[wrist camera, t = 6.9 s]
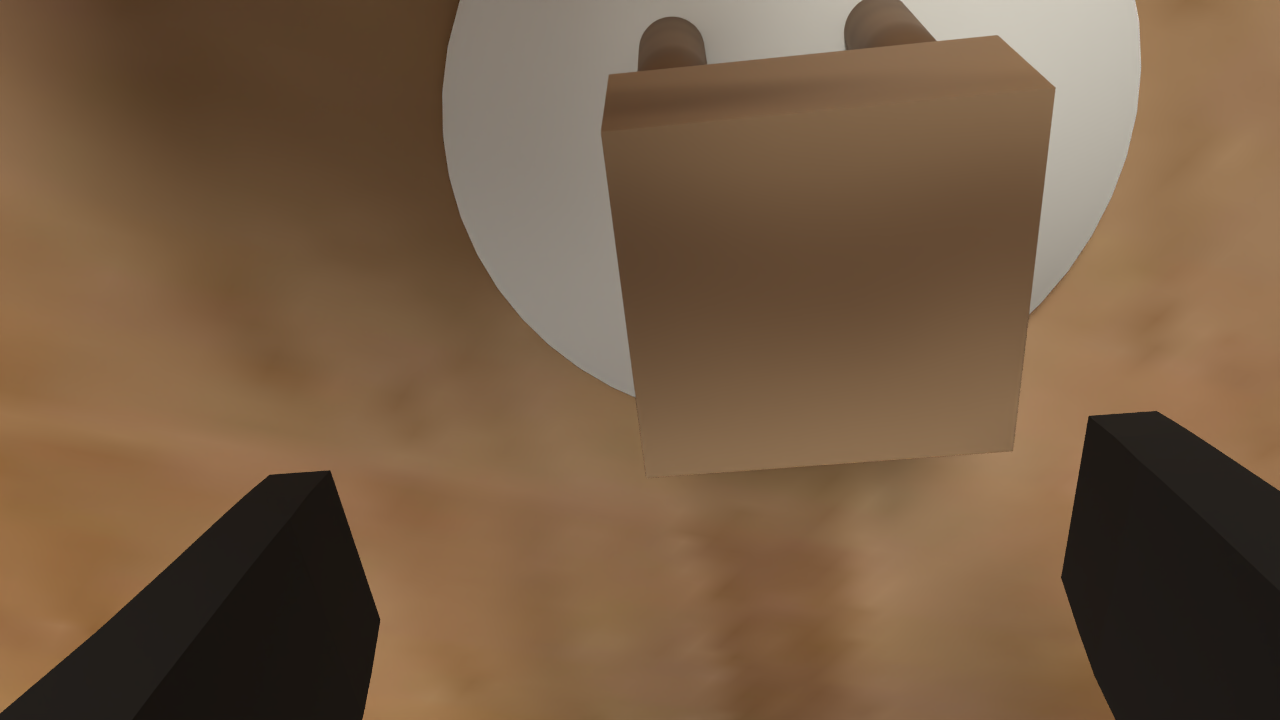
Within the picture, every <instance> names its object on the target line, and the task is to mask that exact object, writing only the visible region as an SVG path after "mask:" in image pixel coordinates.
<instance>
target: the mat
mask: <svg viewBox="0 0 1280 720" xmlns="http://www.w3.org/2000/svg"><path fill="white" fill-rule="evenodd" d="M861 1H862V0H460V2H459V5H458V9H457V13H456V17H455V21H454V25H453V28H452V32H451V36H450V40H449V44H448V49H447V57H446V65H445V74H444V82H443V90H442V103H443V139H444V146H445V152H446V159H447V166H448V172H449V178H450V182H451V185H452V189H453V192H454V196H455V199H456V202H457V206H458V209H459V213H460V216H461V219H462V221H463V223H464V226H465V228H466V230H467V233H468V235H469V237H470V239H471V242H472V244H473V246H474V248H475V251H476V253H477V255H478V257H479V258H480V260H481V262H482V263H483V265H484V267H485V268H486V270H487V272H488V273H489V275H490V276H491V278H492V280H493V281H494V283H495V285H496V286H497V288H498V289H499V291H500V292H501V293H502V294H503V296H504V297H505V298H506V299H507V301H508V302H509V303H510V304H511V306H512V307H513V308H514V309H515V311H516V312H517V313H518V314H519V316H520V317H521V318H522V319H523V320H524V321H525V322H526V323H527V324H528V325H529V326H530V327H531V328H532V329H533V330H534V331H535V332H536V333H537V334H538V335H539V336H540V337H541V338H542V339H543V340H544V341H545V342H546V343H547V344H548V345H550V346H551V347H552V348H554V349H555V350H556V351H558V352H559V353H560V354H561V355H563V356H564V357H565V358H567V359H568V360H569V361H571V362H572V363H573V364H575V365H576V366H577V367H579V368H580V369H582V370H584V371H585V372H587V373H589V374H590V375H592V376H594V377H595V378H597V379H599V380H601V381H602V382H604V383H606V384H607V385H609V386H611V387H613V388H615V389H617V390H620V391H622V392H624V393H627V394H629V395H631V396H633V397H635V390H634V382H633V375H632V367H631V359H630V352H629V344H628V337H627V329H626V321H625V314H624V306H623V298H622V291H621V283H620V276H619V268H618V260H617V253H616V245H615V237H614V230H613V222H612V215H611V207H610V199H609V192H608V184H607V176H606V169H605V161H604V154H603V146H602V138H601V126H602V119H603V112H604V105H605V98H606V91H607V84H608V77H609V74H618V73H628V72H637V70H638V53H639V43H640V40H641V37H642V35H643V33H644V31H645V30H646V29H647V28H648V26H649V25H651V24H652V23H653V22H655V21H656V20H658V19H661V18H664V17H672V16H673V17H680V18H683V19H686V20H688V21H689V22H691V23H692V24H693V25H695V26H696V28H697V29H698V30H699V32H700V33H701V35H702V38H703V41H704V46H705V53H706V60H707V64H717V63H727V62H737V61H747V60H756V59H766V58H776V57H786V56H796V55H806V54H816V53H825V52H835V51H845V50H849V49H848V47H847V45H846V43H845V38H844V27H845V23H846V20H847V17H848V15H849V14H850V12H851V11H852V9H853V8H854V7H855V6H856V5H857V4H858V3H859V2H861ZM900 1H901V2H903V4H904V5H905V6H906V7H907V8H908V9H909V10H910V11H911V13H912V14H913V15H914V16H915V17H916V18H917V19H918V20H919V22H920V23H921V24H922V25H923V26H924V27H925V28H926V29H927V31H928V32H929V33H930V34H931V35H932V36H933V37H934V38H935V40H936V41H944V40H954V39H963V38H973V37H983V36H993V35H998V36H999V37H1000V38H1002V39H1003V40H1004V41H1005V42H1006V43H1007V44H1008V45H1009V46H1010V47H1011V48H1013V49H1014V50H1015V51H1016V52H1017V53H1018V54H1019V55H1020V56H1021V57H1022V58H1024V59H1025V60H1026V61H1027V62H1028V63H1029V64H1030V65H1031V66H1032V67H1034V68H1035V69H1036V70H1037V71H1038V72H1039V73H1040V74H1041V75H1042V76H1043V77H1045V78H1046V79H1047V80H1048V81H1049V82H1050V83H1051V84H1052V85H1053V86H1054V87H1056V89H1055V97H1054V106H1053V115H1052V123H1051V132H1050V140H1049V149H1048V157H1047V166H1046V174H1045V183H1044V191H1043V200H1042V208H1041V217H1040V226H1039V234H1038V243H1037V251H1036V260H1035V268H1034V277H1033V285H1032V294H1031V302H1030V311H1029V314H1030V313H1031V312H1032V311H1033V310H1034V309H1035V308H1036V307H1037V306H1039V305H1040V304H1041V302H1042V301H1043V300H1044V299H1045V298H1046V297H1047V295H1048V294H1049V293H1050V292H1051V291H1052V289H1053V288H1054V287H1055V286H1056V285H1057V284H1058V282H1059V281H1060V280H1061V279H1062V278H1063V277H1064V275H1065V274H1066V273H1067V272H1068V270H1069V269H1070V267H1071V266H1072V264H1073V263H1074V261H1075V260H1076V258H1077V257H1078V256H1079V254H1080V253H1081V251H1082V250H1083V248H1084V247H1085V245H1086V244H1087V242H1088V241H1089V239H1090V238H1091V236H1092V234H1093V232H1094V230H1095V228H1096V226H1097V225H1098V223H1099V221H1100V219H1101V217H1102V215H1103V213H1104V211H1105V209H1106V207H1107V205H1108V203H1109V201H1110V199H1111V197H1112V195H1113V192H1114V189H1115V186H1116V184H1117V181H1118V178H1119V176H1120V173H1121V170H1122V168H1123V165H1124V162H1125V159H1126V157H1127V153H1128V148H1129V144H1130V140H1131V135H1132V131H1133V127H1134V122H1135V118H1136V114H1137V105H1138V95H1139V84H1140V74H1141V53H1140V31H1139V18H1138V13H1137V8H1136V3H1135V0H900Z"/></svg>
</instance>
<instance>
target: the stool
mask: <svg viewBox="0 0 1280 720" xmlns="http://www.w3.org/2000/svg"><path fill="white" fill-rule="evenodd" d="M844 38H845V43H846V45H847V47H848V49H849V50H845V51H835V52H825V53H816V54H806V55H796V56H786V57H776V58H766V59H756V60H747V61H737V62H727V63H717V64H707V60H706V53H705V46H704V41H703V38H702V35H701V33H700V32H699V30H698V29H697V28H696V26H695V25H693V24H692V23H691V22H689V21H688V20H686V19H683V18H680V17H673V16H672V17H664V18H661V19H658V20H656V21H655V22H653V23H652V24H651V25H649V26H648V28H647V29H646V30H645V31H644V33H643V35H642V37H641V40H640V43H639V53H638V70H637V72H628V73H618V74H609V77H608V84H607V91H606V98H605V105H604V112H603V119H602V126H601V138H602V146H603V154H604V161H605V169H606V176H607V184H608V192H609V199H610V207H611V215H612V222H613V230H614V237H615V245H616V253H617V260H618V268H619V276H620V283H621V291H622V298H623V306H624V314H625V321H626V329H627V337H628V344H629V352H630V359H631V367H632V375H633V382H634V390H635V397H636V405H637V413H638V420H639V428H640V436H641V443H642V451H643V458H644V466H645V474H646V478H654V477H667V476H681V475H695V474H708V473H722V472H736V471H749V470H763V469H777V468H790V467H804V466H818V465H832V464H845V463H859V462H873V461H886V460H900V459H914V458H927V457H941V456H955V455H968V454H982V453H996V452H1009V451H1013V448H1014V439H1015V430H1016V422H1017V413H1018V405H1019V396H1020V388H1021V379H1022V371H1023V362H1024V354H1025V345H1026V337H1027V328H1028V319H1029V311H1030V302H1031V294H1032V285H1033V277H1034V268H1035V260H1036V251H1037V243H1038V234H1039V226H1040V217H1041V208H1042V200H1043V191H1044V183H1045V174H1046V166H1047V157H1048V149H1049V140H1050V132H1051V123H1052V115H1053V106H1054V97H1055V89H1056V87H1054V86H1053V85H1052V84H1051V83H1050V82H1049V81H1048V80H1047V79H1046V78H1045V77H1043V76H1042V75H1041V74H1040V73H1039V72H1038V71H1037V70H1036V69H1035V68H1034V67H1032V66H1031V65H1030V64H1029V63H1028V62H1027V61H1026V60H1025V59H1024V58H1022V57H1021V56H1020V55H1019V54H1018V53H1017V52H1016V51H1015V50H1014V49H1013V48H1011V47H1010V46H1009V45H1008V44H1007V43H1006V42H1005V41H1004V40H1003V39H1002V38H1000V37H999V36H998V35H993V36H983V37H973V38H963V39H954V40H944V41H936V40H935V38H934V37H933V36H932V35H931V34H930V33H929V32H928V31H927V29H926V28H925V27H924V26H923V25H922V24H921V23H920V22H919V20H918V19H917V18H916V17H915V16H914V15H913V14H912V13H911V11H910V10H909V9H908V8H907V7H906V6H905V5H904V4H903V2H901V1H900V0H862V1H861V2H859V3H858V4H857V5H856V6H855V7H854V8H853V9H852V11H851V12H850V14H849V15H848V17H847V20H846V23H845V27H844Z"/></svg>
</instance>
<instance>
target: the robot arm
mask: <svg viewBox="0 0 1280 720" xmlns="http://www.w3.org/2000/svg"><path fill="white" fill-rule="evenodd" d="M1061 579H1062V582H1063V585H1064V588H1065V591H1066V594H1067V597H1068V600H1069V603H1070V606H1071V609H1072V612H1073V615H1074V618H1075V621H1076V625H1077V628H1078V631H1079V634H1080V636H1081V639H1082V642H1083V645H1084V648H1085V650H1086V653H1087V656H1088V659H1089V662H1090V664H1091V667H1092V670H1093V673H1094V676H1095V678H1096V680H1097V682H1098V684H1099V686H1100V688H1101V690H1102V692H1103V695H1104V697H1105V699H1106V701H1107V703H1108V705H1109V707H1110V709H1111V711H1112V713H1113V715H1114V717H1115V719H1116V720H1280V491H1279V490H1277V489H1276V488H1274V487H1273V486H1271V485H1270V484H1268V483H1267V482H1265V481H1264V480H1262V479H1261V478H1259V477H1258V476H1256V475H1255V474H1253V473H1252V472H1250V471H1249V470H1247V469H1246V468H1244V467H1243V466H1241V465H1240V464H1238V463H1237V462H1235V461H1234V460H1232V459H1231V458H1229V457H1228V456H1226V455H1225V454H1223V453H1222V452H1220V451H1219V450H1217V449H1216V448H1214V447H1213V446H1211V445H1210V444H1208V443H1207V442H1205V441H1204V440H1202V439H1201V438H1199V437H1198V436H1196V435H1195V434H1193V433H1192V432H1190V431H1188V430H1187V429H1185V428H1184V427H1182V426H1180V425H1179V424H1177V423H1176V422H1174V421H1172V420H1171V419H1169V418H1167V417H1166V416H1164V415H1162V414H1161V413H1159V412H1157V411H1151V412H1137V413H1123V414H1109V415H1095V416H1089V417H1088V423H1087V429H1086V435H1085V441H1084V447H1083V453H1082V458H1081V464H1080V470H1079V476H1078V482H1077V488H1076V494H1075V500H1074V506H1073V511H1072V517H1071V523H1070V529H1069V535H1068V541H1067V547H1066V553H1065V559H1064V564H1063V570H1062V576H1061ZM379 625H380V618H379V615H378V612H377V609H376V606H375V603H374V600H373V597H372V594H371V591H370V588H369V585H368V582H367V579H366V576H365V573H364V570H363V567H362V564H361V561H360V558H359V555H358V552H357V549H356V546H355V543H354V540H353V537H352V534H351V531H350V528H349V525H348V522H347V519H346V516H345V513H344V510H343V507H342V504H341V501H340V498H339V495H338V492H337V489H336V486H335V483H334V480H333V477H332V474H331V471H316V472H302V473H288V474H274V475H269V476H268V477H267V478H265V479H264V480H263V481H262V482H261V483H259V484H258V485H257V486H256V487H254V488H253V489H252V490H251V491H250V492H249V493H248V494H246V495H245V496H244V497H243V498H242V499H241V500H240V501H239V502H237V503H236V504H235V505H234V506H233V507H232V508H231V509H230V510H229V511H228V512H226V513H225V514H224V515H223V516H222V517H221V518H220V519H219V520H218V521H217V522H216V523H214V524H213V525H212V526H211V527H210V528H209V529H208V530H207V531H206V532H205V533H204V534H203V535H202V536H201V537H199V538H198V539H197V540H196V541H195V542H194V543H193V544H192V545H191V546H190V547H189V548H188V549H187V550H185V551H184V552H183V553H182V554H181V555H180V556H179V557H178V558H177V559H176V560H175V561H174V562H173V563H172V564H170V565H169V566H168V567H167V568H166V569H165V570H164V571H163V572H162V573H161V574H159V575H158V576H157V577H156V578H155V579H154V580H153V581H152V582H151V583H150V584H149V585H147V586H146V587H145V588H144V589H143V590H142V591H141V592H140V593H139V594H138V595H136V596H135V597H134V598H133V599H132V600H131V601H130V602H129V603H128V604H127V605H126V606H124V607H123V608H122V609H121V610H120V611H119V612H118V613H117V614H116V615H115V616H113V617H112V618H111V619H110V620H109V621H108V622H107V623H106V624H105V625H104V626H102V627H101V628H100V629H99V630H98V631H97V632H96V633H95V634H93V635H92V636H91V637H90V638H89V639H87V640H86V641H85V642H84V643H83V644H82V645H80V646H79V647H78V648H77V649H76V650H75V651H73V652H72V653H71V654H70V655H69V656H67V657H66V658H65V659H64V660H63V661H62V662H60V663H59V664H58V665H57V666H56V667H54V668H53V669H52V670H51V671H50V672H49V673H47V674H46V675H45V676H44V677H43V678H42V679H40V680H39V681H38V682H37V683H36V684H34V685H33V686H32V687H31V688H30V689H29V690H27V691H26V692H25V693H24V694H23V695H21V696H20V697H19V698H18V699H17V700H16V701H14V702H13V703H12V704H11V705H10V706H9V707H7V708H6V709H5V710H4V711H3V712H1V713H0V720H362V718H363V714H364V709H365V704H366V699H367V694H368V688H369V683H370V678H371V673H372V667H373V661H374V655H375V649H376V643H377V637H378V631H379Z"/></svg>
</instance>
